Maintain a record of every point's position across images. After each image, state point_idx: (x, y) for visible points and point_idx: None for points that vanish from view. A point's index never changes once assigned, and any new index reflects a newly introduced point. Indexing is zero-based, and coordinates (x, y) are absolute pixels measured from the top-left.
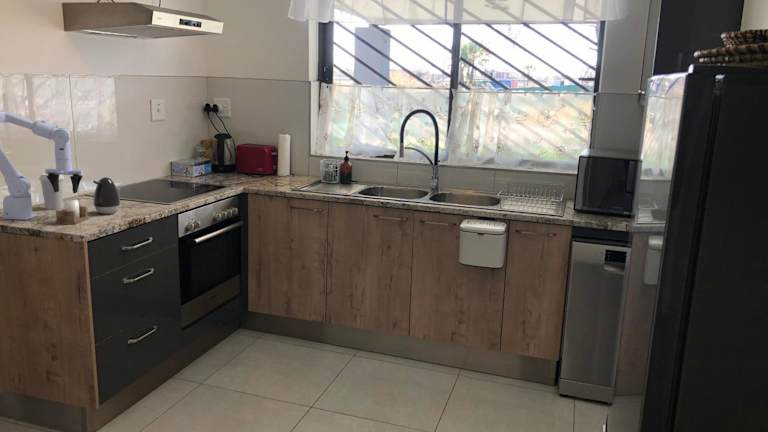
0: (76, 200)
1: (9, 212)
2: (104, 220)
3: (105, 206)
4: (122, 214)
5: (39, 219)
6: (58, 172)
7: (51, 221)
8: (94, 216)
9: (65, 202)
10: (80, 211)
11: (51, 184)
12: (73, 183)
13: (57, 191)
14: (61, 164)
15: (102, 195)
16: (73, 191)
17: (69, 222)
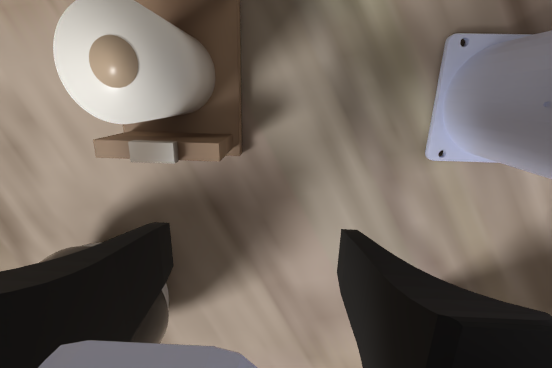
0: (91, 99)
1: None
2: (33, 117)
3: (62, 250)
4: (42, 258)
5: (380, 77)
6: (161, 355)
7: (289, 37)
8: (138, 198)
9: (138, 3)
10: (148, 135)
11: None
12: (74, 262)
13: (340, 255)
14: None
15: None
16: (154, 226)
17: None
